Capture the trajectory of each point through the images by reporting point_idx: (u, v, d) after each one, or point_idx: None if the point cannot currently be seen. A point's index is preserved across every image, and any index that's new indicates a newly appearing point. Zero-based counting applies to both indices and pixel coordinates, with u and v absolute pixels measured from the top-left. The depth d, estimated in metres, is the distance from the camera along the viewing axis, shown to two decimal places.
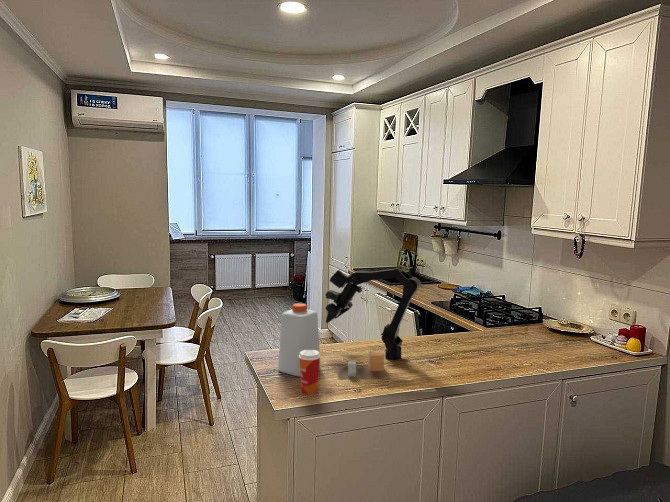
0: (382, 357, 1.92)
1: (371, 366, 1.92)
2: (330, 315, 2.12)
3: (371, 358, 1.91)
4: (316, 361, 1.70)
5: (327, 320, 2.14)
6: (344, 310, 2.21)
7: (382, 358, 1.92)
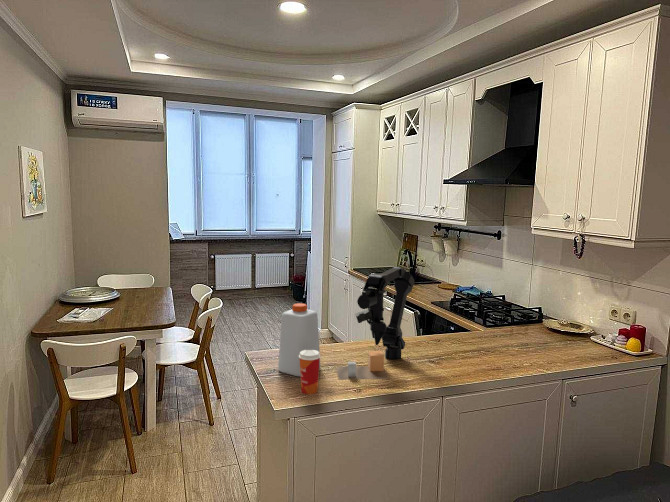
0: (382, 357, 1.92)
1: (371, 366, 1.92)
2: (377, 334, 1.87)
3: (371, 358, 1.91)
4: (316, 361, 1.70)
5: (377, 341, 1.88)
6: None
7: (382, 358, 1.92)
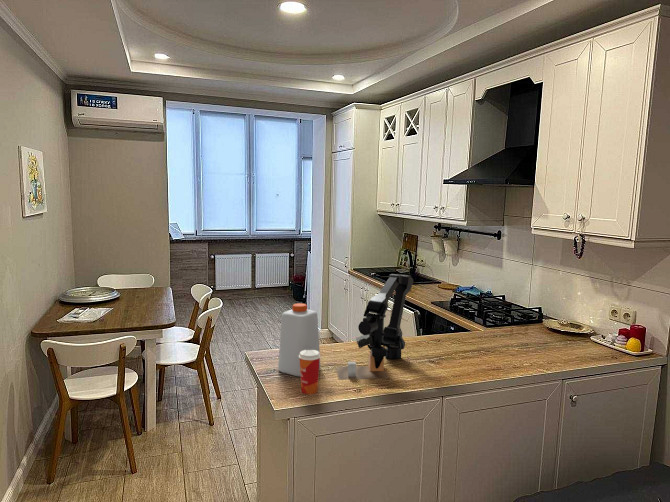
0: None
1: (371, 366, 1.92)
2: (377, 358, 1.90)
3: (371, 358, 1.91)
4: (316, 361, 1.70)
5: (377, 365, 1.91)
6: None
7: None
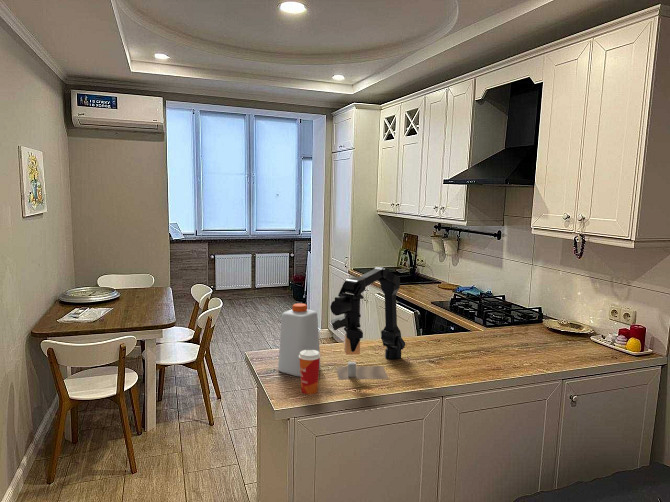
0: None
1: (347, 349, 1.82)
2: (353, 341, 1.80)
3: (347, 341, 1.82)
4: (316, 361, 1.70)
5: (353, 348, 1.81)
6: None
7: None
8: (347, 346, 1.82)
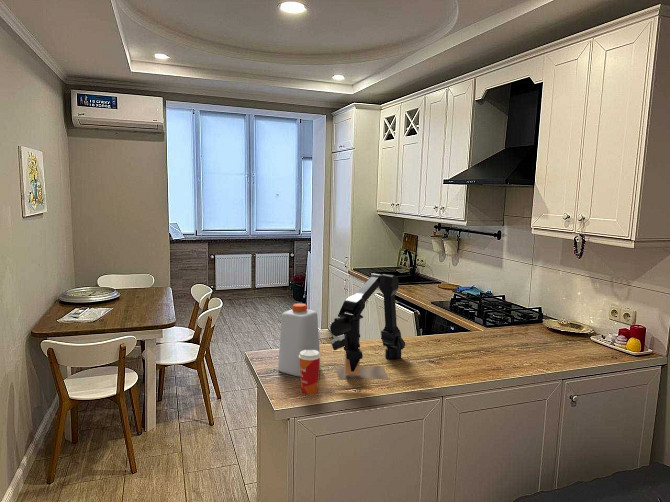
0: None
1: (346, 369, 1.83)
2: (353, 361, 1.81)
3: (346, 361, 1.83)
4: (316, 361, 1.70)
5: (352, 368, 1.82)
6: None
7: None
8: (347, 366, 1.83)
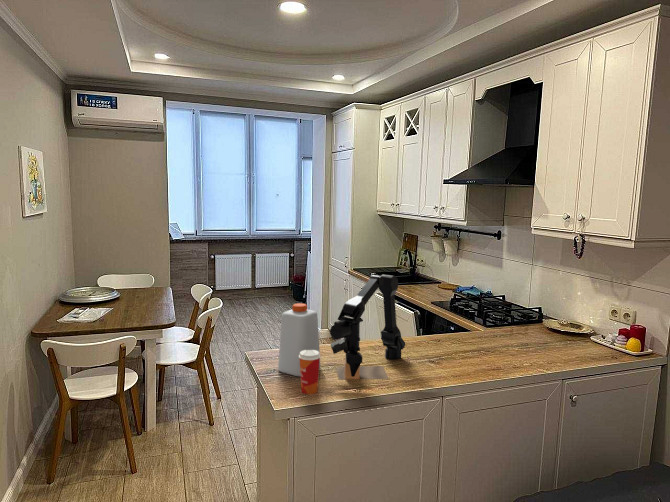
0: None
1: (346, 374, 1.83)
2: (353, 366, 1.80)
3: (346, 365, 1.83)
4: (316, 361, 1.70)
5: (353, 373, 1.81)
6: None
7: None
8: (347, 371, 1.83)
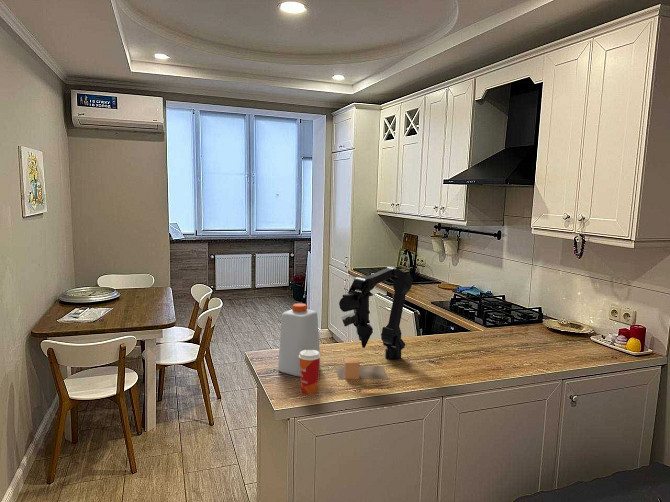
0: (358, 364, 1.83)
1: (346, 374, 1.83)
2: (364, 337, 1.88)
3: (346, 365, 1.83)
4: (316, 361, 1.70)
5: (363, 344, 1.89)
6: None
7: (358, 365, 1.83)
8: (347, 371, 1.83)
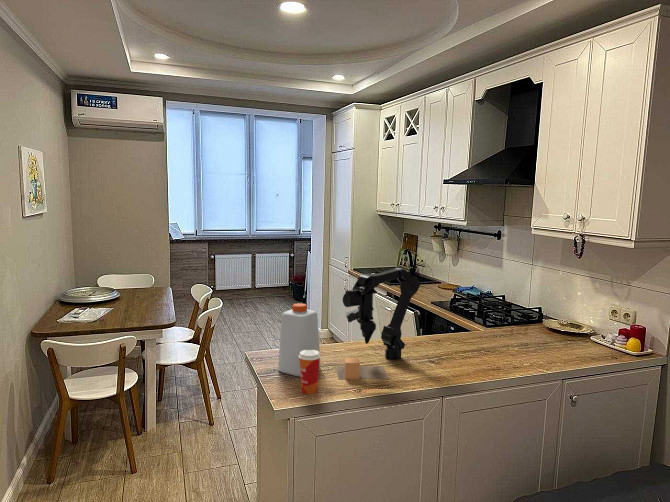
0: (358, 364, 1.83)
1: (346, 374, 1.83)
2: (367, 333, 1.92)
3: (346, 365, 1.83)
4: (316, 361, 1.70)
5: (366, 340, 1.93)
6: None
7: (358, 365, 1.83)
8: (347, 371, 1.83)
